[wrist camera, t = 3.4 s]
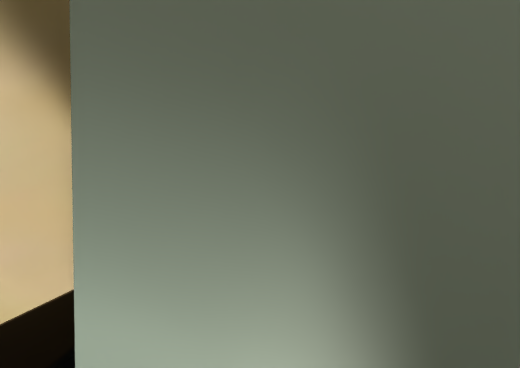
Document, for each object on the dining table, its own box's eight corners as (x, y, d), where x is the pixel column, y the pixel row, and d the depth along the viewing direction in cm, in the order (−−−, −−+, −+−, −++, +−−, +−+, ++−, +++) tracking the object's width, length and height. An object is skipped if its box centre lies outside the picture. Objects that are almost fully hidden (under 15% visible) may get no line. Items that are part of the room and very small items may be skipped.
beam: (312, 514, 12) (280, 741, 9) (164, 461, 13) (79, 655, 9) (590, -142, 6) (922, -272, 2) (254, -200, 6) (64, -383, 3)
